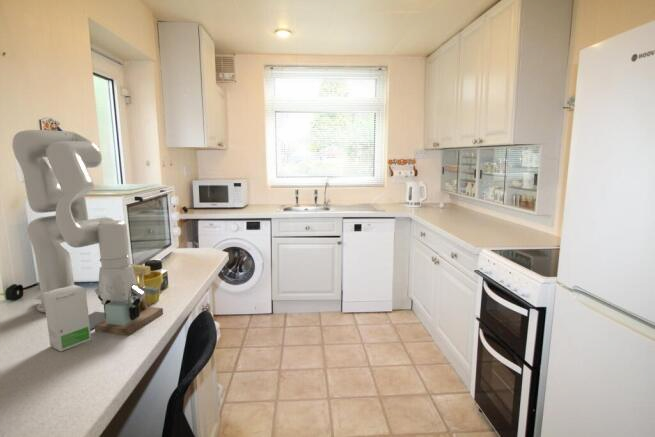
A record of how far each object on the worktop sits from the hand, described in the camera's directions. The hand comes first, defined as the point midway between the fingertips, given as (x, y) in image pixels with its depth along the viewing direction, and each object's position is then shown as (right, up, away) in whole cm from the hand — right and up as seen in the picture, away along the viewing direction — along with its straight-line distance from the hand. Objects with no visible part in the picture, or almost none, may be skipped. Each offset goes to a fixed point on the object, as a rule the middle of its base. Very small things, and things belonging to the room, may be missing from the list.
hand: (122, 316), depth 113 cm
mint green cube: (0, -1, 0) cm, 1 cm away
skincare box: (-10, -5, -9) cm, 14 cm away
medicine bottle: (-4, +2, +30) cm, 31 cm away
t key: (+3, 0, +8) cm, 8 cm away
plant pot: (-2, 0, +20) cm, 20 cm away
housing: (+1, -3, +3) cm, 4 cm away
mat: (-12, -3, +4) cm, 13 cm away
